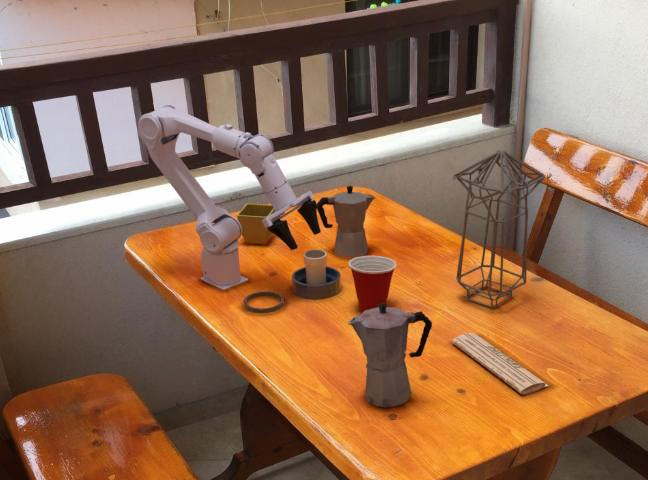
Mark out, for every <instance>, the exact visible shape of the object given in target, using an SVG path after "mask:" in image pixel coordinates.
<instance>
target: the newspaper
mask: <svg viewBox="0 0 648 480" xmlns="http://www.w3.org/2000/svg"><path fill="white" fill-rule="evenodd" d="M451 343H452V344H453V345H455V346H456V347H457V348H458V349H460V350H461V351H462V352H464V353H466V354H467V355H468V356H469V357H471V358H472V359H474V360H475V361H476V362H477V363H479V364H480V365H482V366H483V367H484V368H486V369H487V370H488V371H489V372H491V373H492V374H494V375H495V376H497V377H498V378H499V379H501V381H503V382H505V383H506V384H507V385H508V386H510V387H511V388H513V389H514V390H516V391H517V393H520V395H528V394H529V395H530V394H532V393H535V392H536V391H539V390H541V389H544V388H546V387H550V385H549V384H547V383H546V382H545V381H543V380H541V378H539V377H538V376H536V375H535V374H533V373H532V372H530V370H528V369H526V368H525V367H524V366H522V365H520V364H519V363H518V362H516V361H515V360H513V359H512V358H511V357H509V356H507V355H506V354H505V353H503V352H502V351H501V350H499V349H497V348H496V347H495V346H494V345H492V344H491V343H490V342H488V341H486V340H485V339H484V338H482V337H481V336H479V335H477V334H476V333H474V332H466V333H463V334H460V335H458V336H456V337H454V338H452V339H451Z"/></svg>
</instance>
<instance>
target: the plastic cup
mask: <svg viewBox="0 0 648 480" xmlns="http://www.w3.org/2000/svg"><path fill="white" fill-rule="evenodd" d="M348 266H349V268H350V270H351V274H352V278H353V283H354V290H355V295H356V298H357V302H358V308H359V310H360V312H361V313H363V312H364V311H365V310H369V309H374V308H378V305H379V304H381V303H385V304H386V305H387V302H388V298H389V295H390V294H389V292H390V287H391V282H392V277H393V275H394V271H395V269H396V267H397V262H396V261H395V260H394V259H392V258H390V257H386V256H381V255H365V256H361V257H355V258H354V257H353V258H351V259H349V261H348Z"/></svg>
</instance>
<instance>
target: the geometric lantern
mask: <svg viewBox="0 0 648 480" xmlns="http://www.w3.org/2000/svg"><path fill="white" fill-rule="evenodd" d="M495 165H497V166H498V167H499V169H500V188H494V187H487V186H486V185H485V184H486V182H487V181H488V179H489V177H490V174H491V173H492V171H493V169H494V167H495ZM519 165H521V166H522V167H524V168H526V169H528V170H529V171H524V170H523V169H522V168H521V167H520V166H519ZM476 172H478V174H477V175H476V176H475V178H474V179H473V180H472V175H474V174H475V173H476ZM504 174H505V175H506V179H507V185H506V187H505V181H504ZM468 175H469V179H468V178H465V177H463V176H468ZM527 175H529V176H530V175H531V176H532V175H533V176H535V177H534V178H532V179H530V180H528V181H527V180H526V179H527ZM517 176H518V177H519V178H520V180H521V181H522V183H520V182H519V181H517V179H516V177H517ZM480 177H481V178H480ZM545 179H546V175H545V174H544V173H543V172H541V171H539V169H536V168H534V167H532V166H531V165H529V164H527V163H525V162H524V161H522V160H521V159H519V158H517V157H515V156H514V155H513V154H511V153H509V152H507V151H505V150H496V152H494V153H492V154H490V155H488V156H487V157H485V158H483V159H481V160H479V161H478V162H475V163H474V164H471V165H470V166H468V167H466V168H464V169H463V170H461V171H459V172H456V173H455V174H453V175H452V180H453V181H455V180H457V181H458V182H459V183H460V184H461V185H462V187H464V188H465V190H466V191H467V194H466V202H465V207H464V219H463V220H464V221H463V231H462V235H461V236H462V237H461V244H460V250H459V258H458V263H457V269H456V270H457V271H456V278H455V279H456V282H457V283H458V285H460V286H461V287H462V288H463V289H464V290H465V291H466V296H465V299H466V300H467V301H468V302H472V303H475V304H478V305H482V306H485V307H488V308H490V309H492V308H497V307H499V306H500V305H501V304H503V303H505V302H507V301H508V300H509V299H511V298H512V297H513V291H514V290H516V289H518V288H519V287H521V286H524V285H526V284H527V273H528V272H527V271H528V270H527V268H528V267H527V266H528V221H529V206H528V197H529V195H530V194H531V193H532V192H533V191H534V190H535V189H536V188H537V187H538V186H539V185H540V184H541V183H542V182H543V181H544V180H545ZM464 182H465V183H464ZM466 183H467V184H468V186H467V185H466ZM480 184H481V185H480ZM512 184H514V186H515V187H513V188H511V185H512ZM472 186H475V187H477V188H478V192H479V195H475V193H474V192H473V187H472ZM531 186H532V187H531ZM530 187H531V188H530ZM525 189H526V191H525ZM482 190H484V191H486V193H487V194H488V195H485V196H482V195H483V194H482ZM507 190H509V191H507ZM521 190H522V194H523V196H521V197H520V191H521ZM490 191H491V192H493V193H490ZM514 191H516V192H517V194H516V193H515V192H514ZM504 194H511V196H512V197H513V198H514V199H515V200H514V202H513V203H512V202H509V201H505V200H502V199H501V198H502V197H503V195H504ZM497 195H498V197H497V198H494V197H495V196H497ZM470 199H471V201H470ZM474 199H477V200H480V201H479V202H477V203H474V204H473V202H474ZM522 200H524V206H523V205H522V206H521V205H520V204H519V205H518V204H516V203H517V202H518V203H519V202H520V201H522ZM469 201H470V203H469ZM488 201H489V202H488ZM487 202H488V203H487ZM493 202H497V203H496V212H495V217H494V215H493V213H492V204H493ZM500 203H503V204H507V205H509V206H510V207H509V209H508V210H507V212H506V213H505V215H504V216H503V217H502V219H501V220H499V215H500V214H499V213H500ZM481 204H483V205H484V207H485V209H486V210H487V217H484V216H481V215H478V214H475V213H472V212H469V210H470V209H471V208H474V207H476V206H479V205H481ZM513 207H517V208H520V209H523V210H524V212H522V213H520V214H517V215H514V216H513V217H511V218H510V217H509V218H508V219H506V217H507V216H508V215H509V213H510V212H511V210H512V209H513ZM469 216H474V217H476V218H479V219H482V220H485V221H486V224H485V225H486V226H485V234H484V241H483V249H482V256H481V262H480V265H479V266H477V267H475V268H472V269H471V270H468V271H466V272H464V273H462V272H463V271H462V270H463V262H464V261H463V260H464V252H465V251H464V250H465V242H466V241H465V240H466V233H467V224H468V219H469ZM522 216H524V235H523V236H524V237H523V249H522V264H521V265H522V266H521V275H520V274H518V273H515V272H513V271H510V270H507V269H504V249H505V248H504V246H505V223H507V222H509V221H512V220H515V219H517V218H519V217H522ZM490 222H491V223H493V227H492V238H491V239H492V240H491V250H490V251H491V252H490V264H484V262H485V255H486V249H487V242H488V241H487V240H488V234H489V228H490V227H489V225H490ZM499 224H501V241H500V242H501V243H500V267H499V266H496V265H495V263H496V262H495V261H496V251H497V249H496V248H497V238H498V227H499V226H498V225H499ZM483 268H489V271H488V275H487V277H486V278H485V275H484V269H483ZM493 269H496V270H499V271H500V272H499V274H500V275H499V282H497V281H493V280H492V278H493ZM478 270H480V272H481V277H482V280H480V281H478V282H477V283H475V284H473V285H470V284H467V283H464V282H463V281H461V280H462V278H463V277H465V276H467V275H469V274H471V273H473V272H476V271H478ZM503 272H504V273H506V274H510V275H512V276H515V277H518V279H517V280H516V281H515V282H514V283H513V284H512V285H511V286H510V285H507V284H503V280H504V279H503V275H504V273H503ZM521 280H522V281H523V282H521V283H519V282H520V281H521ZM484 282H486V283H484ZM479 284H481V287H480V288H477V287H476V286H478V285H479ZM485 284H486V285H485ZM492 284H495V285H498V286H499V289H496V288H493V287H492ZM484 285H485V286H484ZM503 287H506V288H508V289H506V290H503ZM484 289H487V292H486V291H484ZM472 290H473V291H472ZM491 291H495V292H496V293H491ZM480 293H481V294H480ZM473 295H475V296H478V297H481V298H484V299H487V300H490V304H487V303H484V302H480V301H477V300H473V299H471V298H470V297H471V296H473ZM505 295H507V296H508V297H507V298H505V299H503V300H502V301H500V302H499V303H498V301H499V299H500V298H503V297H504V296H505ZM493 297H496V298H493ZM494 301H495V304H494V303H493V302H494Z"/></svg>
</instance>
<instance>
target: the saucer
mask: <svg viewBox="0 0 648 480" xmlns="http://www.w3.org/2000/svg"><path fill="white" fill-rule="evenodd" d="M258 297H273V298H277V299H278V300H280V302H279V303H278V304H276V305H273V306H270V307H254V306H250V305H249V304H248V302H249V301H250V300H252V299H255V298H258ZM242 302H243V304H242V305H243V308H244V309H245V310H246V311H248V312H250V313H254V314H270V313H274V312H276V311H279V310H280V309H282V308H283V307H284V305H285V298H284V296H283V294H281V293H279V292H275V291H271V290H263V291H261V290H260V291H256V292H252V293H250V294H248V295H246V296H245V297H244V298H243V300H242Z"/></svg>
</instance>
